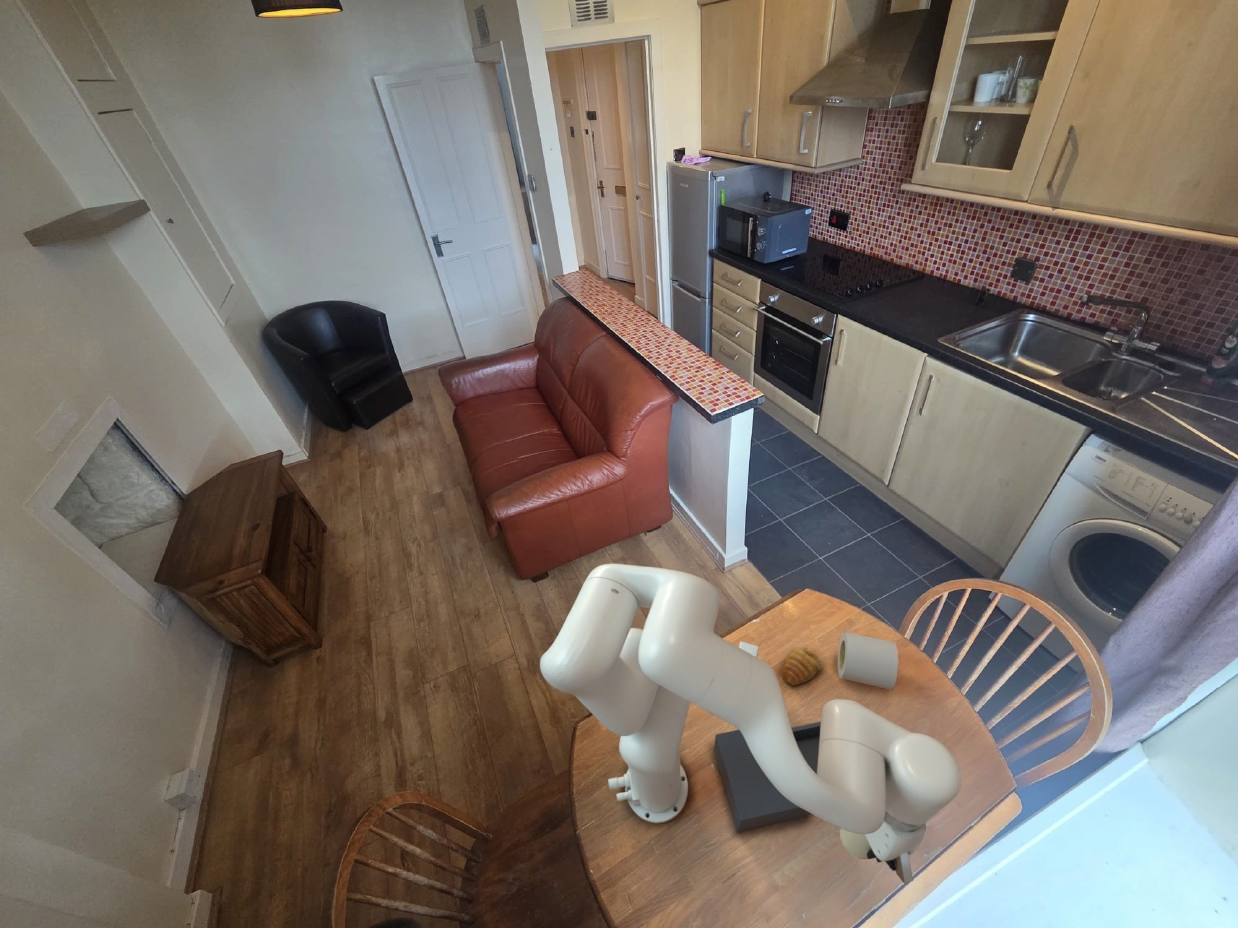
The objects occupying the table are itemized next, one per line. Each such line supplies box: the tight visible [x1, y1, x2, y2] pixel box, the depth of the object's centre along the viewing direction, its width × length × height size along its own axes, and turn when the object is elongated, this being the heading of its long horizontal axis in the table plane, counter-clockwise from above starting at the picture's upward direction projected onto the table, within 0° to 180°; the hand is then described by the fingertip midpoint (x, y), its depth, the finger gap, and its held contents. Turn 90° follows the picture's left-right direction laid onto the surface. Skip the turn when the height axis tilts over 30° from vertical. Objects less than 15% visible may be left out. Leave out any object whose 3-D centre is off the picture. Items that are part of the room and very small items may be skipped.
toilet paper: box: [837, 631, 899, 691], centre depth 113 cm, size 10×10×10 cm
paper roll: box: [839, 828, 872, 860], centre depth 78 cm, size 6×6×12 cm
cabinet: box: [713, 729, 810, 833], centre depth 99 cm, size 14×15×9 cm
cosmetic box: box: [738, 640, 760, 658], centre depth 113 cm, size 6×4×12 cm
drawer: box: [791, 721, 821, 774], centre depth 100 cm, size 17×13×7 cm
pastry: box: [781, 646, 823, 686], centre depth 116 cm, size 9×7×4 cm
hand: (866, 829), depth 79 cm, fingers closed on paper roll, 5 cm apart
